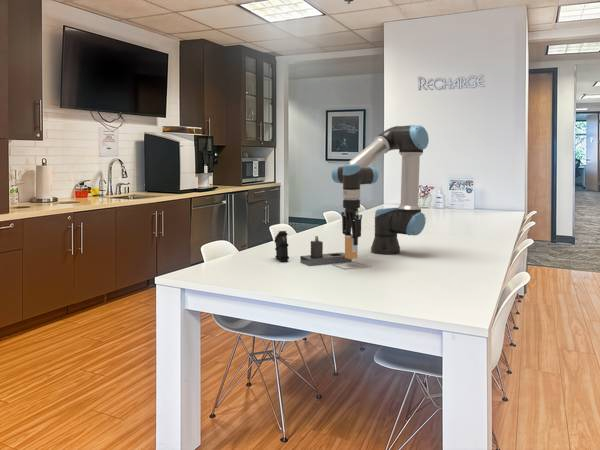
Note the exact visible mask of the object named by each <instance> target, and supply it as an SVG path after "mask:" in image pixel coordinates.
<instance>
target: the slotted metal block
mask: <svg viewBox="0 0 600 450" xmlns="http://www.w3.org/2000/svg"><path fill="white" fill-rule="evenodd" d="M299 259H300V263H301V264H303V265H306V266H308V267H313V266H316V267H317V266H325V265H326V266H327V265H330V264H336V263H346V262H353V261H352V260H353V259H348V258H345V252H331V253H323V257H320V258H313V257H311V254H310V255H309V254H308V255H301V256H300V258H299ZM346 264H347V263H346ZM336 265H337V264H336Z"/></svg>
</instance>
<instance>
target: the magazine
mask: <svg viewBox="0 0 600 450" xmlns="http://www.w3.org/2000/svg"><path fill="white" fill-rule="evenodd" d="M287 236H288V233H287V230H280V231H278V233H277V234H276V236H274V242H273V243H275V248H274V250H275V253H276V254H275V259H276V260H277V261H279V262H280V263H289V259H290V256H289V252H288V251H289V250H288V249H289V248H288V247H289V243H288V237H287Z"/></svg>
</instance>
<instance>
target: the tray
mask: <svg viewBox="0 0 600 450" xmlns="http://www.w3.org/2000/svg"><path fill="white" fill-rule="evenodd" d="M353 263H354V264H355V263H356V264H359V265H362V266H355V267H348V268H346V267H345V268H344V267H342V266H339V265H344V264H345V265H346V264H353ZM329 265H330V266H333V267H336V268H338V269H341V270H344V271H345V270H353V269H354V270H355V269H363V268H371V267H372V265H370V264H369V265H368V264H366V263H362V262H359V261H357V260H355V261H352V262H346V263H336V264H329Z"/></svg>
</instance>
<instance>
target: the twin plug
mask: <svg viewBox="0 0 600 450" xmlns="http://www.w3.org/2000/svg"><path fill="white" fill-rule="evenodd" d="M323 247H324V242H323V241H321V240H319V236H318V235H315V236H314V240H310V255H311V257H313V258H320V257H323V254H324V253H323V251H324V248H323Z"/></svg>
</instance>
